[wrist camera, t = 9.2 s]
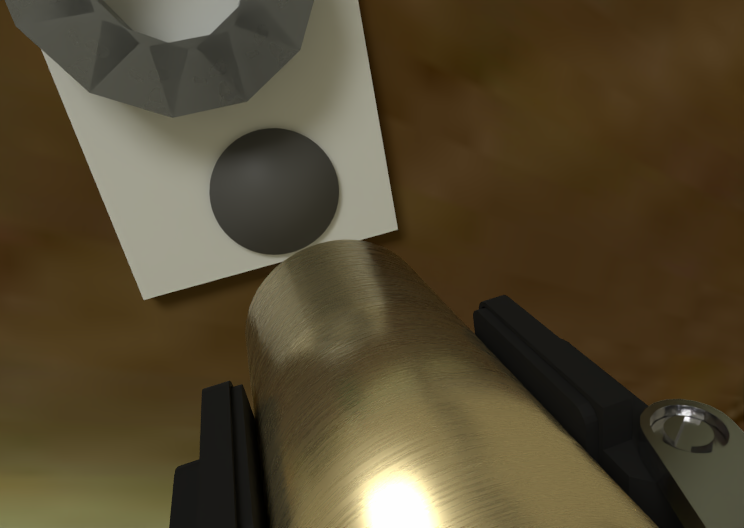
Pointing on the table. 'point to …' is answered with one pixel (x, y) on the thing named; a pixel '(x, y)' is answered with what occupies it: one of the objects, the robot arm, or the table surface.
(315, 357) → the brass round-ended cylinder
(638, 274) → the table surface
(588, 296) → the table surface
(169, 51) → the ring
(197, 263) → the base plate
